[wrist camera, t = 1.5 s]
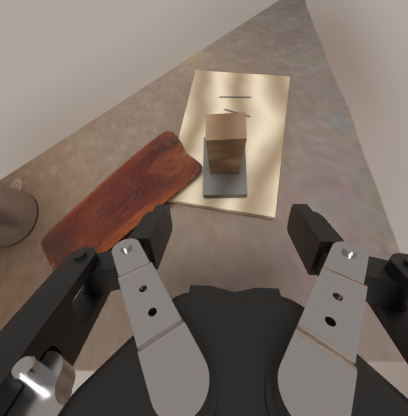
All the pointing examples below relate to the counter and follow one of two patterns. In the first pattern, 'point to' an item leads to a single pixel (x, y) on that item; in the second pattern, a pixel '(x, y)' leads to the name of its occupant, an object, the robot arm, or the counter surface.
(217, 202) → the birch board
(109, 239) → the wooden tablet
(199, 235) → the counter surface
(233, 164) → the block
